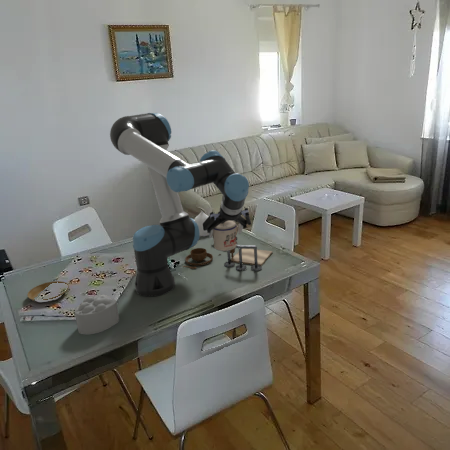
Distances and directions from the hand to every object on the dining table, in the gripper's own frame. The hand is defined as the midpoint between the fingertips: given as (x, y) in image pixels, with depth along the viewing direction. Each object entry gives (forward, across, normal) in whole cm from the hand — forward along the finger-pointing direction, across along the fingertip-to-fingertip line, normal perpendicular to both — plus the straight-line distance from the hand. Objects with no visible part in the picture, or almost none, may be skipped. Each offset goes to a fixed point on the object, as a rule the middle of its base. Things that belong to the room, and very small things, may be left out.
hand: (224, 232), depth 161 cm
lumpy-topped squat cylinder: (-3, -49, -29) cm, 56 cm away
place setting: (+23, -6, -3) cm, 24 cm away
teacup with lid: (+1, 0, -5) cm, 5 cm away
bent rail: (+15, +7, -10) cm, 19 cm away
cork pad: (+21, +13, -4) cm, 25 cm away
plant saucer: (+16, -69, -11) cm, 71 cm away
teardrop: (+48, -2, +22) cm, 53 cm away
